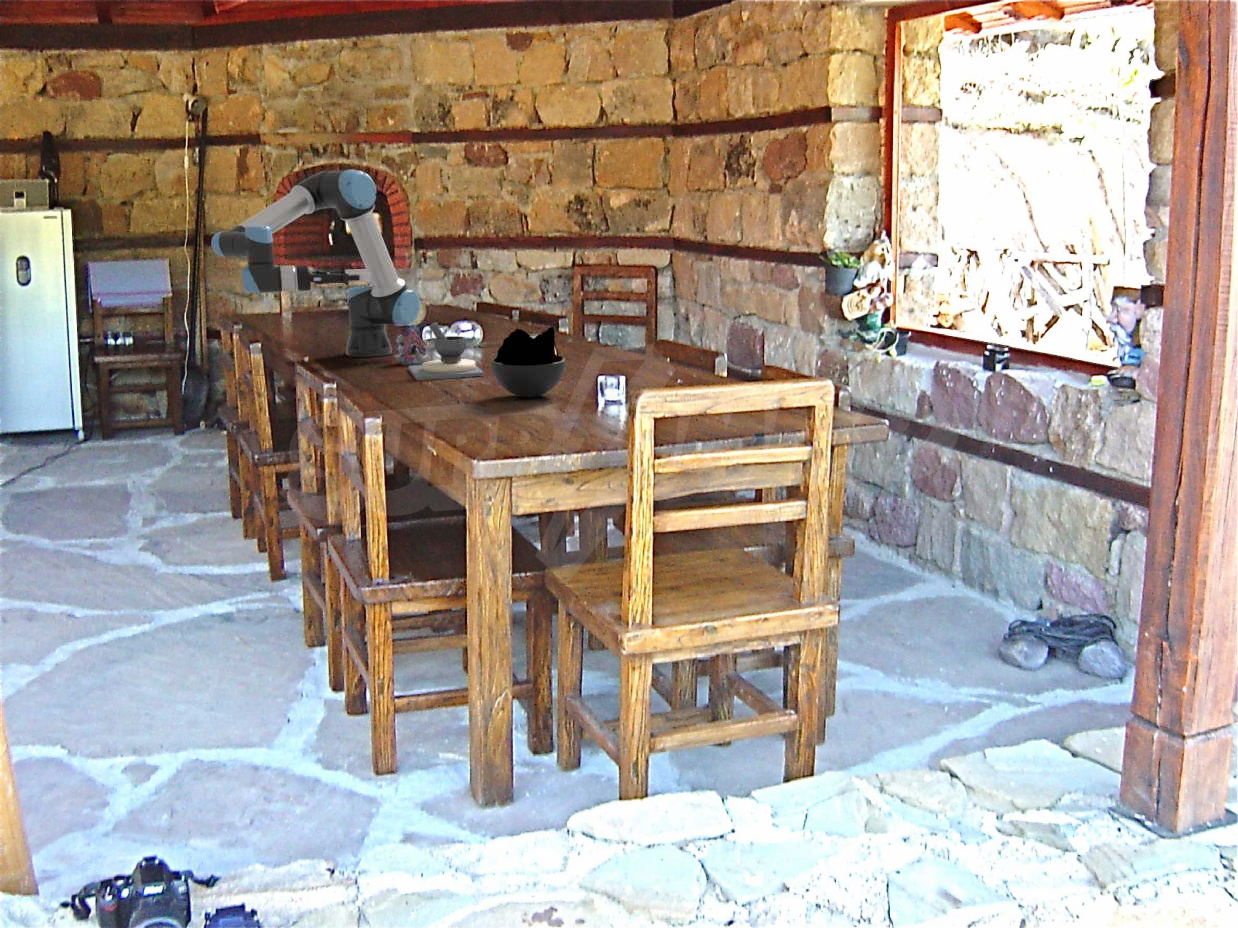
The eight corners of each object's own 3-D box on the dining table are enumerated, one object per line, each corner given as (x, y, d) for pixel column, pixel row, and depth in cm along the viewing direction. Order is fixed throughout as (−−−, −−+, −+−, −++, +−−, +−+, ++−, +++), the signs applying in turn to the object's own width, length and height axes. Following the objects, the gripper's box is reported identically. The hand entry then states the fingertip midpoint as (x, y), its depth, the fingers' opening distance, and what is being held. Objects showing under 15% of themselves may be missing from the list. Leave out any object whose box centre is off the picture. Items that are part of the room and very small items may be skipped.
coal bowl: (485, 403, 349) (482, 332, 345) (501, 390, 368) (499, 323, 364) (559, 403, 346) (557, 332, 342) (572, 390, 366) (570, 323, 362)
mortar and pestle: (460, 357, 406) (458, 318, 404) (472, 361, 398) (470, 321, 396) (425, 360, 401) (423, 321, 399) (437, 364, 393) (435, 324, 391)
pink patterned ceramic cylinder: (422, 359, 414) (401, 328, 415) (400, 379, 419) (379, 348, 420) (441, 354, 424) (420, 324, 425) (419, 373, 429) (398, 344, 430)
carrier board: (408, 369, 409) (408, 357, 409) (472, 365, 414) (472, 354, 414) (416, 380, 389) (416, 367, 388) (483, 376, 394) (483, 363, 393)
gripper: (296, 287, 403) (366, 284, 408) (298, 294, 379) (373, 291, 384) (294, 262, 401) (364, 260, 406) (296, 268, 378) (371, 265, 383)
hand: (369, 275), depth 395 cm, fingers open, 13 cm apart
